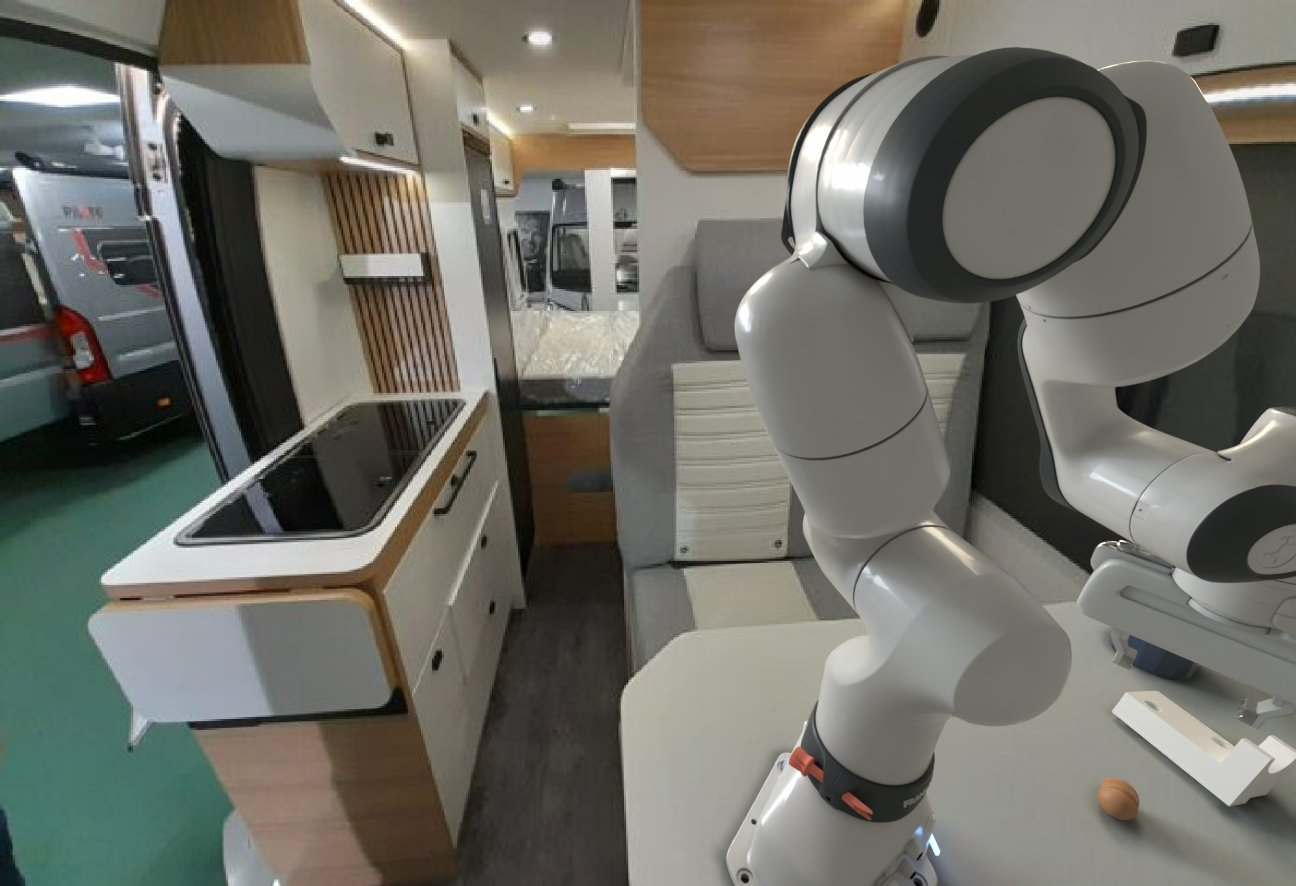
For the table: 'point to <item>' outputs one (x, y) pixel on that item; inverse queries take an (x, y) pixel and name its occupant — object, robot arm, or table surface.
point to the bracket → (1206, 748)
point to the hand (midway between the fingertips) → (1180, 690)
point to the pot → (1159, 660)
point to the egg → (1118, 798)
